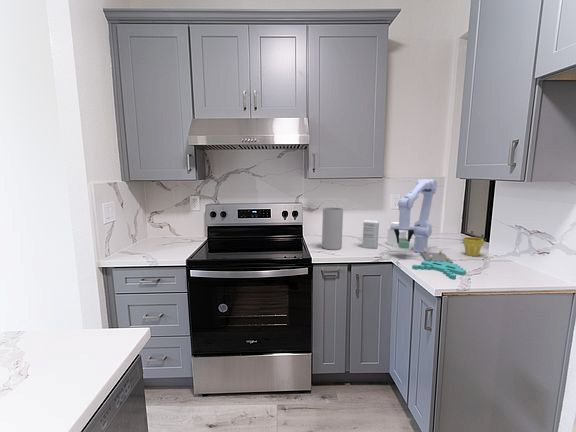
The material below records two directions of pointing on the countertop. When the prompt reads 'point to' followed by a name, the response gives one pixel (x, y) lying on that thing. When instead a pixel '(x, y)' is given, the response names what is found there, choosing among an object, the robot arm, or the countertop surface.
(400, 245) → the green block
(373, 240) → the supplement box
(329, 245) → the cylinder vase
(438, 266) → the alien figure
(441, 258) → the chassis
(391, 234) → the jar
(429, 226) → the robot arm
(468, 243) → the plant pot
